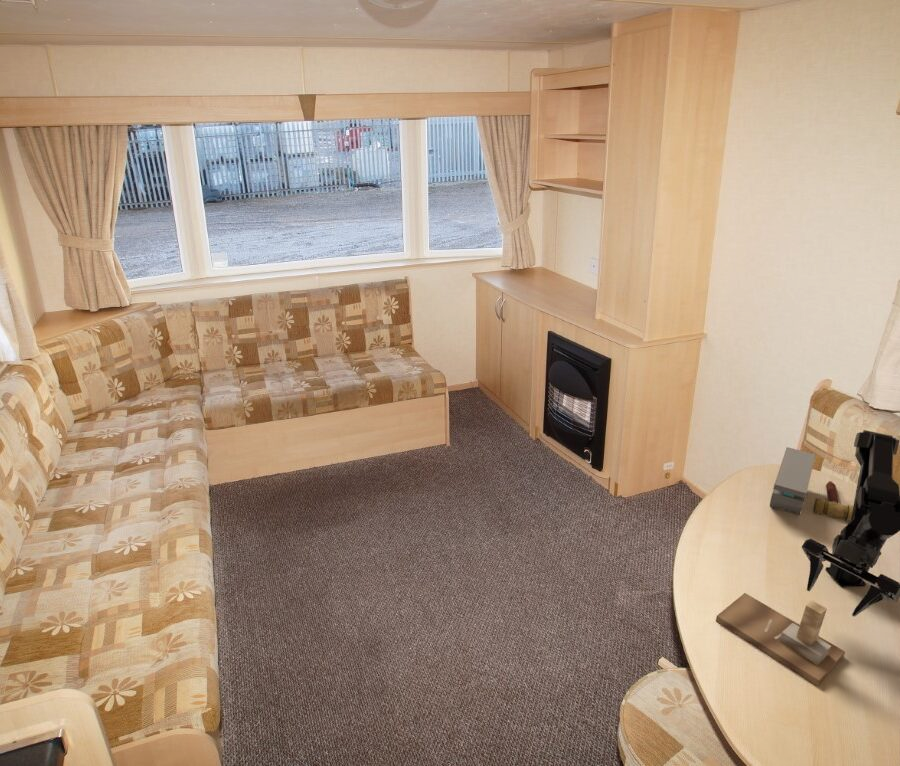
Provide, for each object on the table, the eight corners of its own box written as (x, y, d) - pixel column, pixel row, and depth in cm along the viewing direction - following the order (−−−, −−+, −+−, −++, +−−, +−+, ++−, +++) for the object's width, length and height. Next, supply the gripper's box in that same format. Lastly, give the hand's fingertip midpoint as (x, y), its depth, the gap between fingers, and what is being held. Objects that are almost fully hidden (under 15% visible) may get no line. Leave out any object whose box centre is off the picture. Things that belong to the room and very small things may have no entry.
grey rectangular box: (796, 527, 176) (806, 493, 172) (765, 517, 180) (774, 484, 176) (806, 485, 196) (815, 454, 191) (778, 477, 200) (786, 447, 195)
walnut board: (715, 620, 144) (716, 615, 143) (743, 597, 150) (744, 592, 150) (817, 686, 128) (819, 680, 127) (843, 656, 135) (845, 651, 134)
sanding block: (779, 641, 137) (791, 600, 132) (789, 631, 139) (802, 591, 135) (817, 665, 131) (831, 623, 126) (828, 655, 133) (842, 613, 129)
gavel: (813, 471, 198) (850, 479, 194) (809, 484, 200) (846, 492, 196) (817, 501, 180) (858, 511, 176) (813, 516, 182) (853, 525, 178)
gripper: (816, 506, 139) (779, 568, 137) (914, 551, 125) (874, 620, 124) (824, 524, 147) (788, 582, 145) (917, 568, 133) (879, 633, 131)
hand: (829, 602), depth 136 cm, fingers open, 9 cm apart
